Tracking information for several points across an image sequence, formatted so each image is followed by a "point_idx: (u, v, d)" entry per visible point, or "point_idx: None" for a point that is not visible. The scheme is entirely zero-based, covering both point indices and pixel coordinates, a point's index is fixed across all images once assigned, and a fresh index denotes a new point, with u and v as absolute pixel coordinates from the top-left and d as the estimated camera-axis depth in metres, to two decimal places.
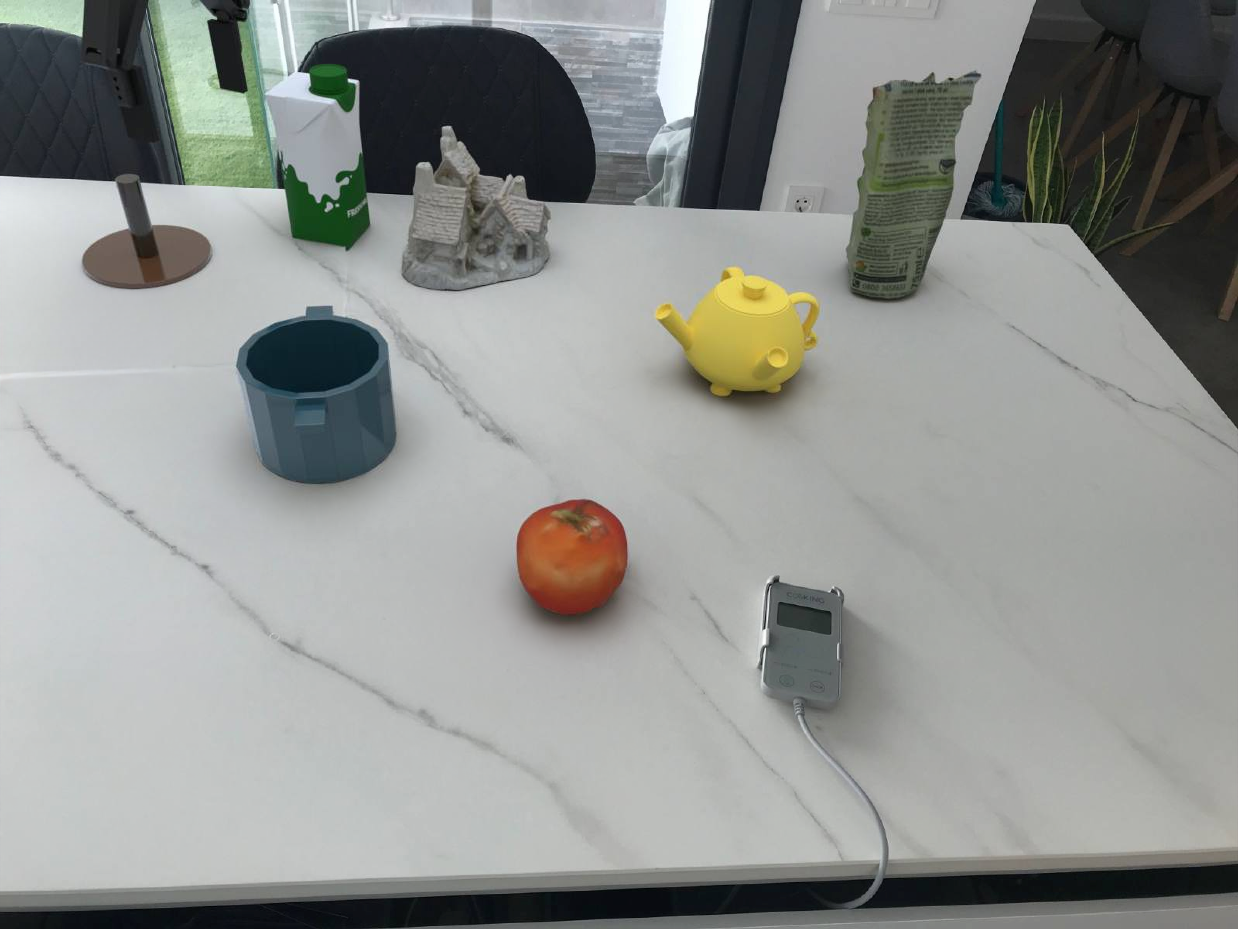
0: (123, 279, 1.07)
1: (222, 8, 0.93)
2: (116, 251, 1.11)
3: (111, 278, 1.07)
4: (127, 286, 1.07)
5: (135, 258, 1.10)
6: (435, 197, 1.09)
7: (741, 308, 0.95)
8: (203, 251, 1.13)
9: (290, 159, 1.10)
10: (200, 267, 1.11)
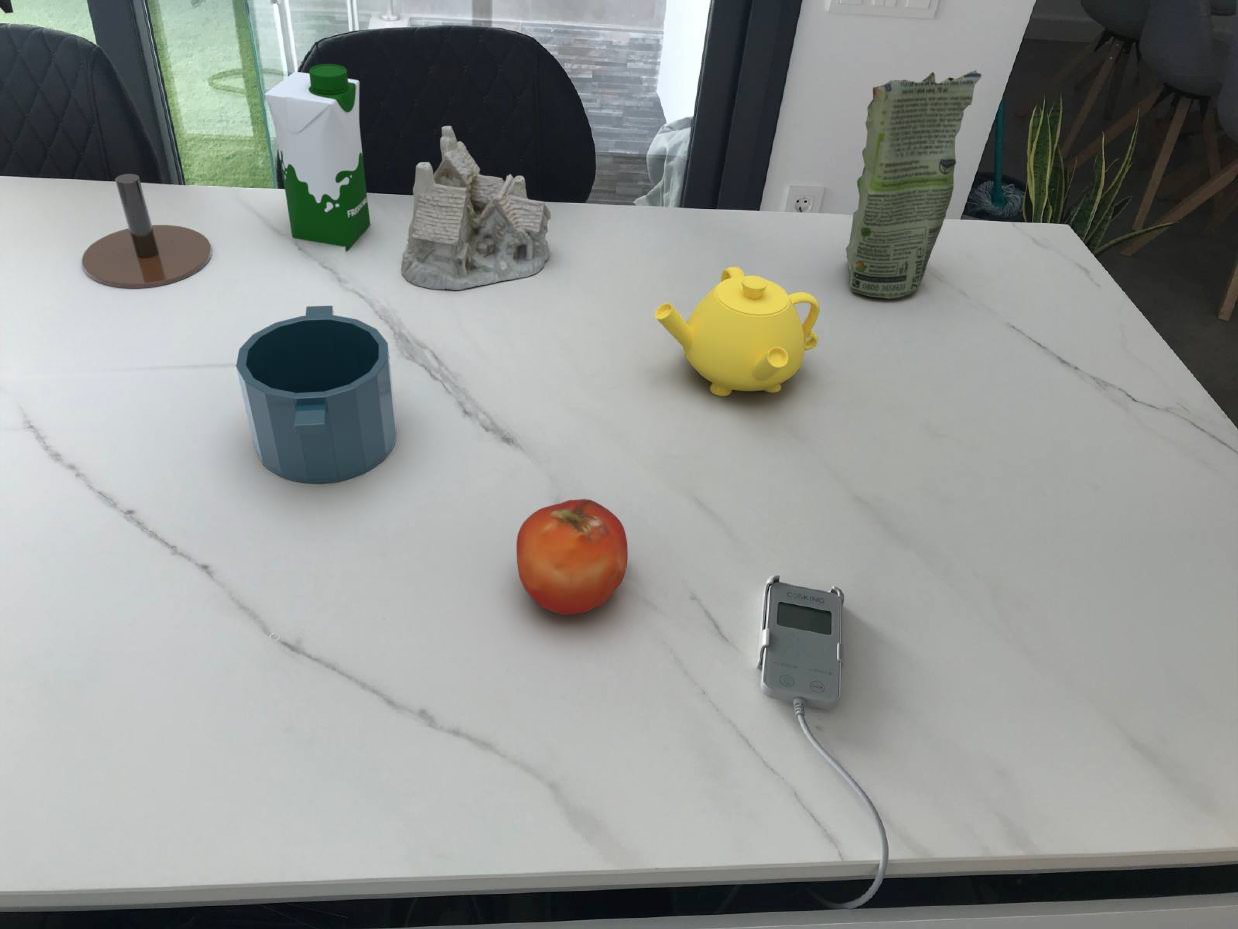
0: (123, 279, 1.07)
1: None
2: (116, 251, 1.11)
3: (111, 278, 1.07)
4: (127, 286, 1.07)
5: (135, 258, 1.10)
6: (435, 197, 1.09)
7: (741, 308, 0.95)
8: (203, 251, 1.13)
9: (290, 159, 1.10)
10: (200, 267, 1.11)
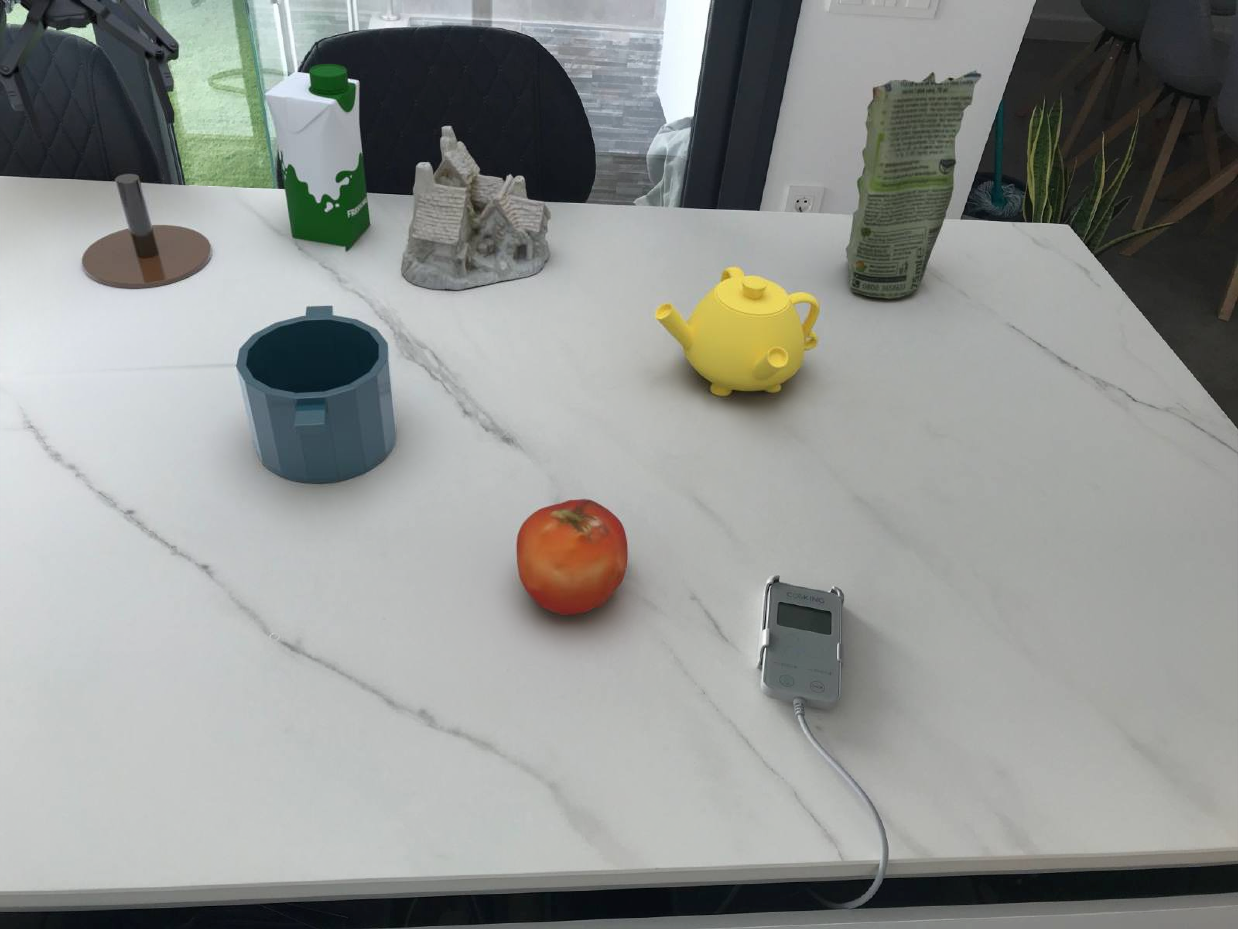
0: (123, 279, 1.07)
1: (21, 68, 1.07)
2: (116, 251, 1.11)
3: (111, 278, 1.07)
4: (127, 286, 1.07)
5: (135, 258, 1.10)
6: (435, 197, 1.09)
7: (742, 308, 0.95)
8: (203, 251, 1.13)
9: (290, 159, 1.10)
10: (200, 267, 1.11)
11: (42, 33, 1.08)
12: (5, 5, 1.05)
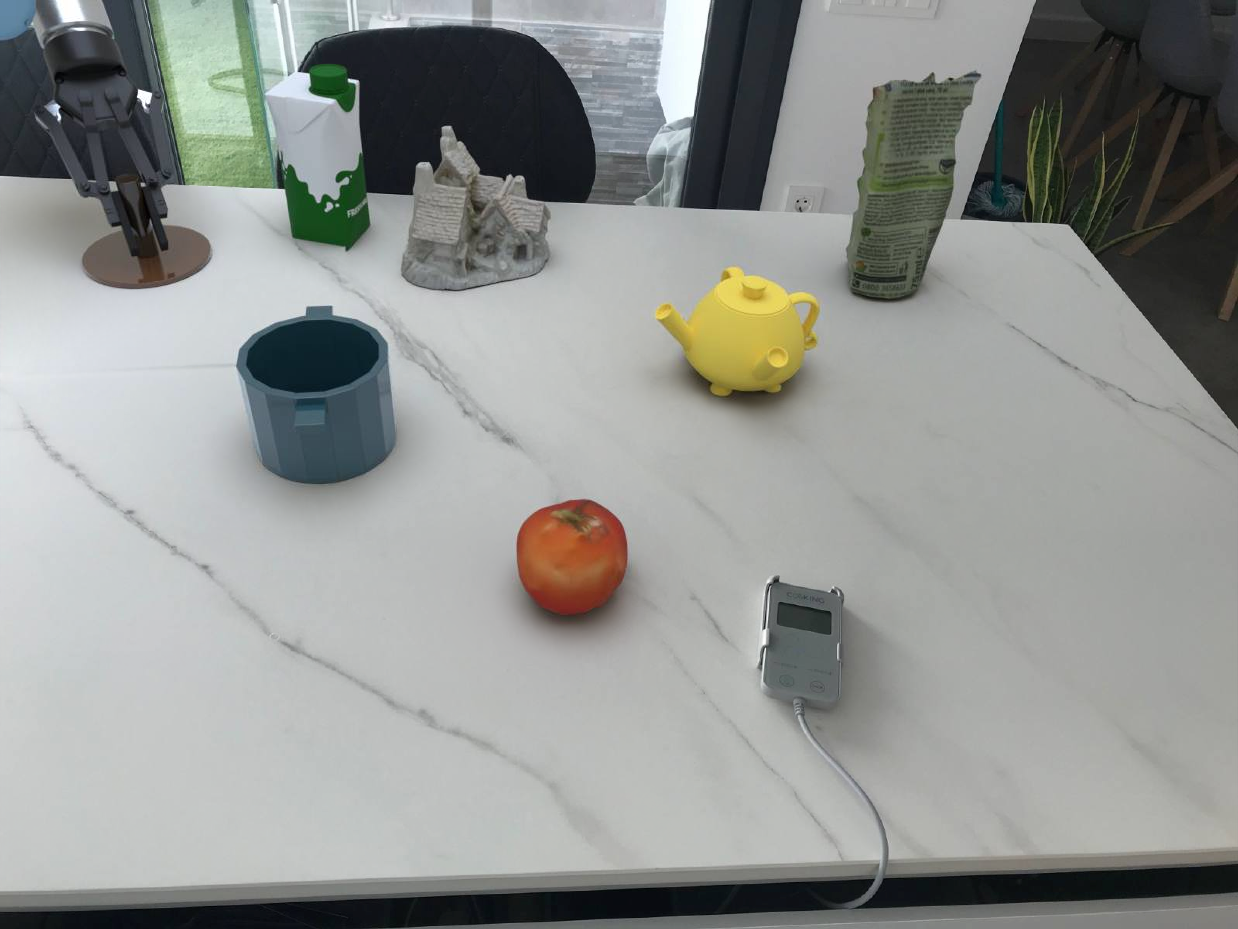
0: (123, 279, 1.07)
1: None
2: (116, 251, 1.11)
3: (111, 278, 1.07)
4: (127, 286, 1.07)
5: (135, 258, 1.10)
6: (435, 197, 1.09)
7: (742, 308, 0.95)
8: (203, 251, 1.13)
9: (290, 159, 1.10)
10: (200, 267, 1.11)
11: None
12: (56, 119, 1.05)
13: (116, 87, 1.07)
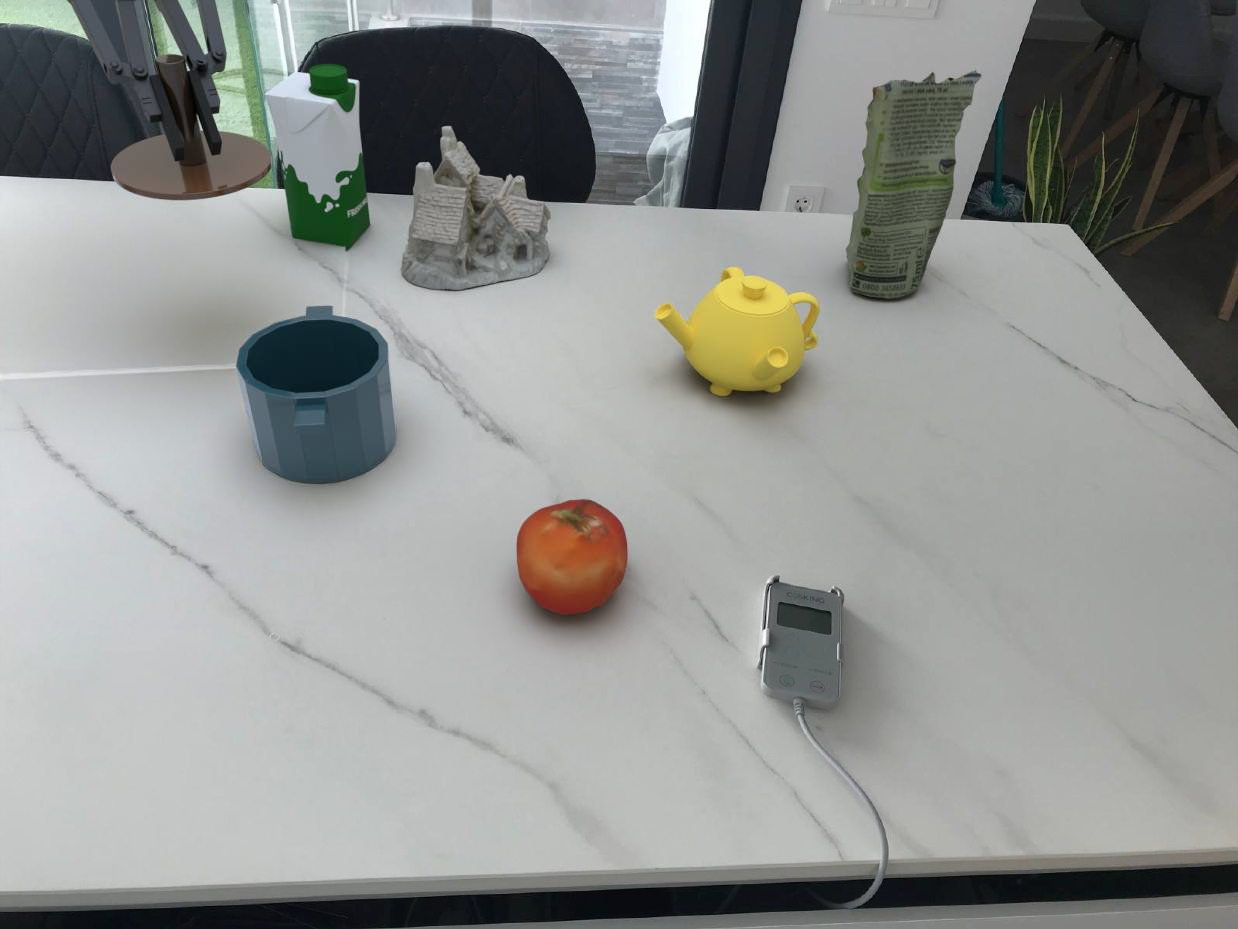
0: (165, 189, 0.84)
1: None
2: (153, 158, 0.88)
3: (150, 188, 0.84)
4: (170, 197, 0.84)
5: (178, 166, 0.88)
6: (435, 197, 1.09)
7: (741, 308, 0.95)
8: (262, 159, 0.90)
9: (290, 159, 1.10)
10: (260, 177, 0.88)
11: None
12: None
13: None
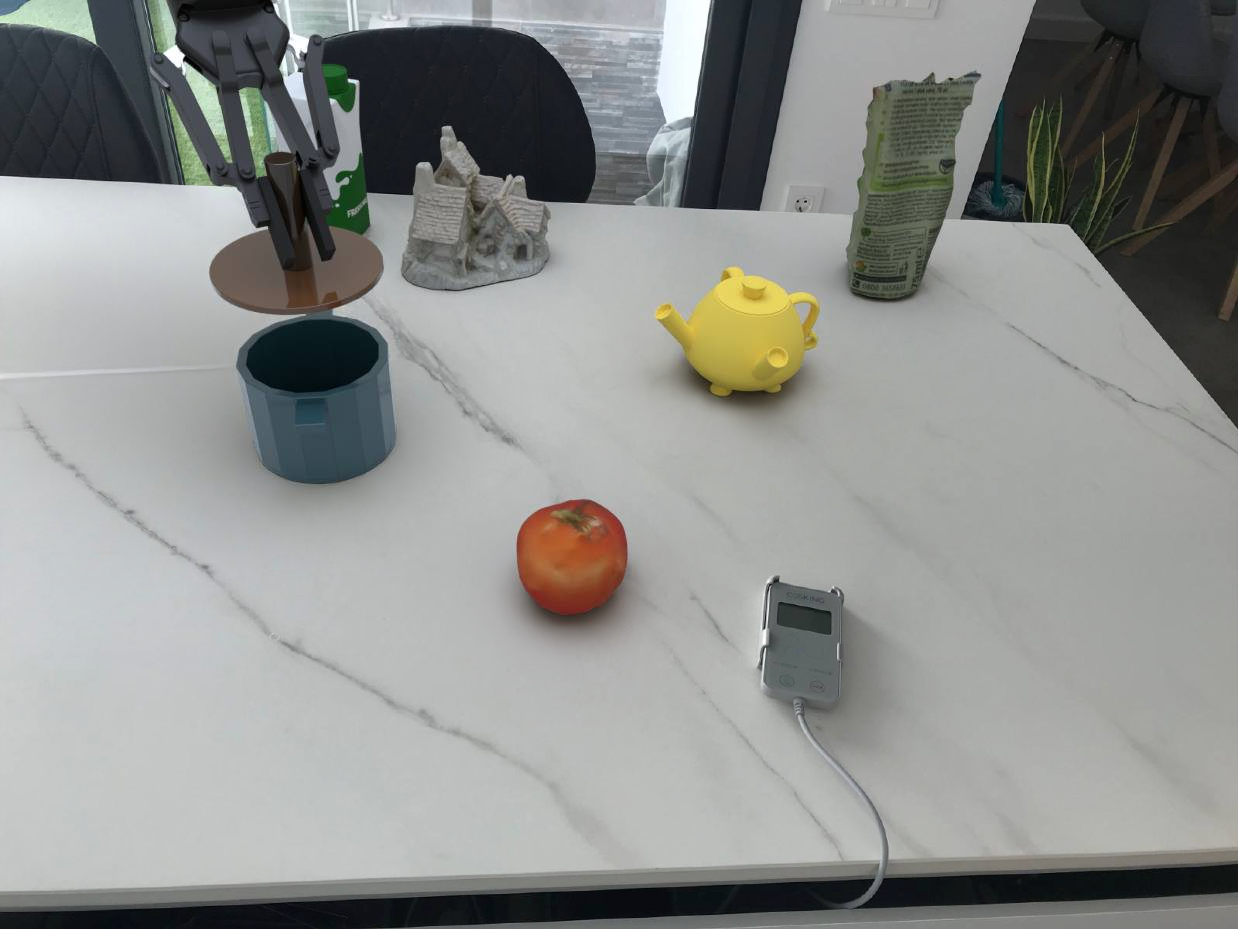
0: (272, 302, 0.75)
1: None
2: (254, 262, 0.79)
3: (255, 301, 0.75)
4: (279, 312, 0.75)
5: (283, 271, 0.78)
6: (435, 197, 1.09)
7: (741, 308, 0.95)
8: (373, 261, 0.81)
9: None
10: (374, 284, 0.79)
11: None
12: None
13: (261, 28, 0.75)
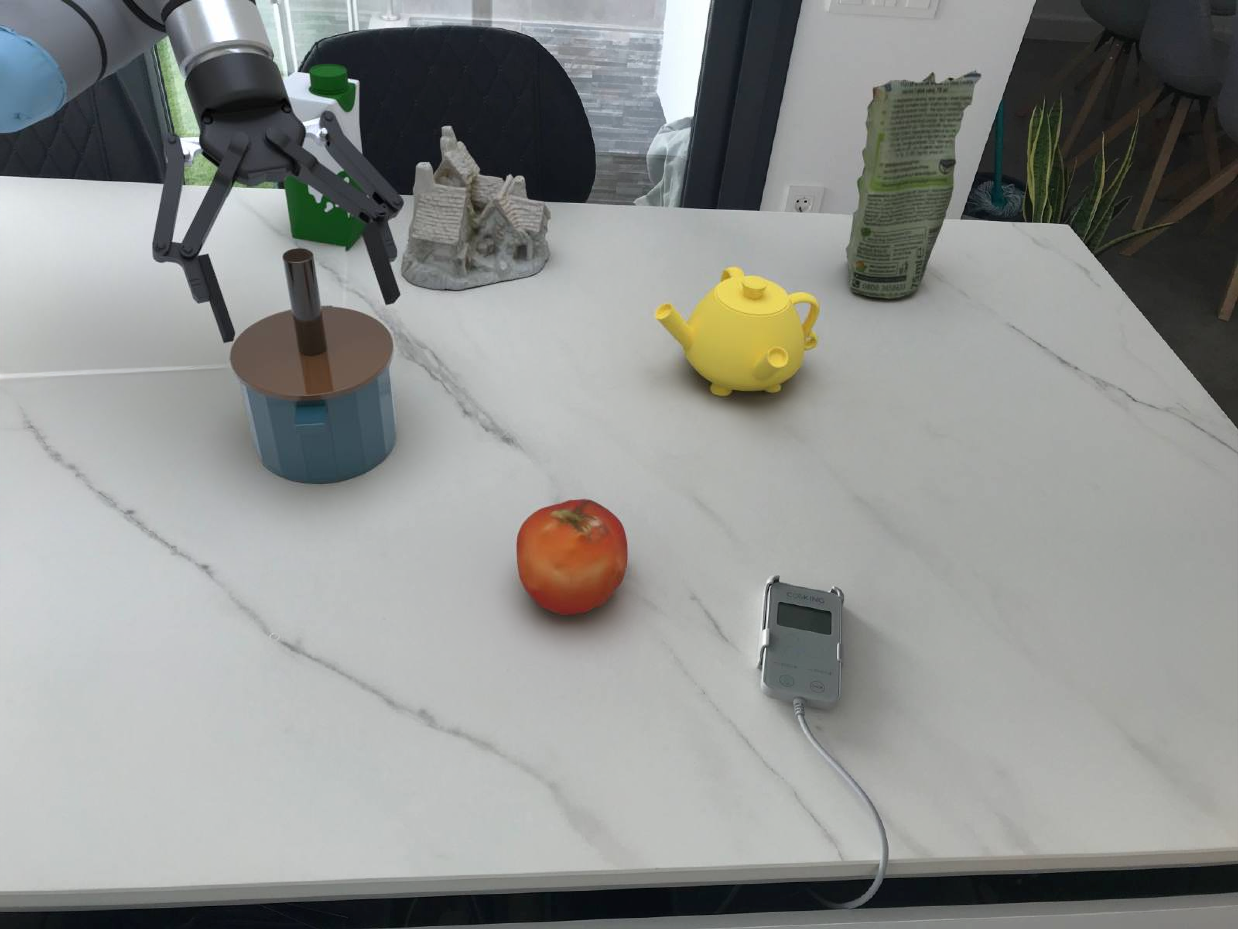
0: (290, 389, 0.80)
1: (203, 243, 0.78)
2: (272, 346, 0.84)
3: (274, 387, 0.80)
4: (296, 399, 0.80)
5: (299, 356, 0.83)
6: (435, 197, 1.09)
7: (741, 308, 0.95)
8: (384, 345, 0.86)
9: None
10: (384, 368, 0.84)
11: (229, 192, 0.80)
12: (185, 159, 0.77)
13: None
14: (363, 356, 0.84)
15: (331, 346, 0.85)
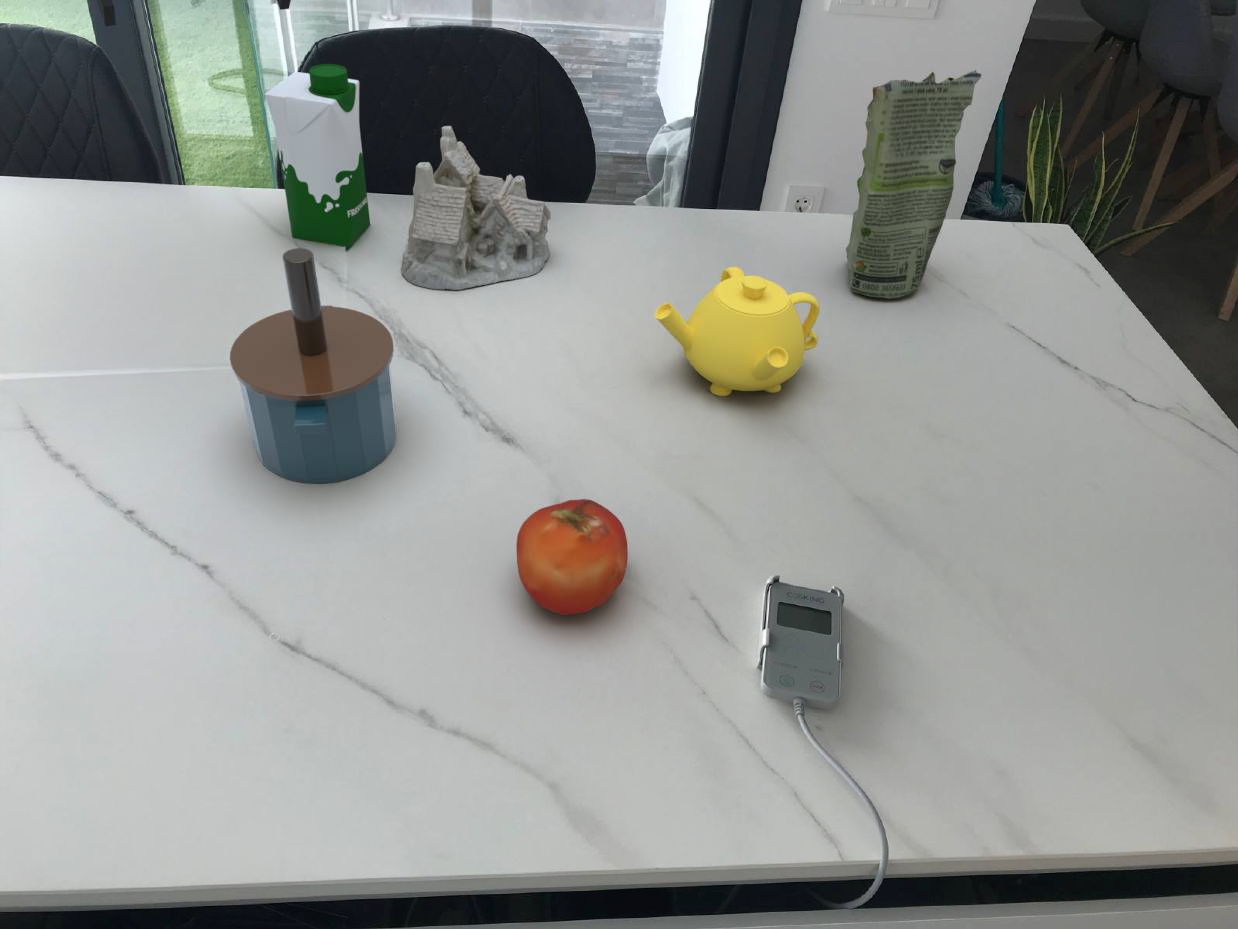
0: (290, 389, 0.80)
1: None
2: (272, 346, 0.84)
3: (274, 387, 0.80)
4: (296, 399, 0.80)
5: (299, 356, 0.83)
6: (435, 197, 1.09)
7: (741, 308, 0.95)
8: (384, 345, 0.86)
9: (290, 159, 1.10)
10: (384, 368, 0.84)
11: None
12: None
13: None
14: (363, 356, 0.84)
15: (331, 346, 0.85)
